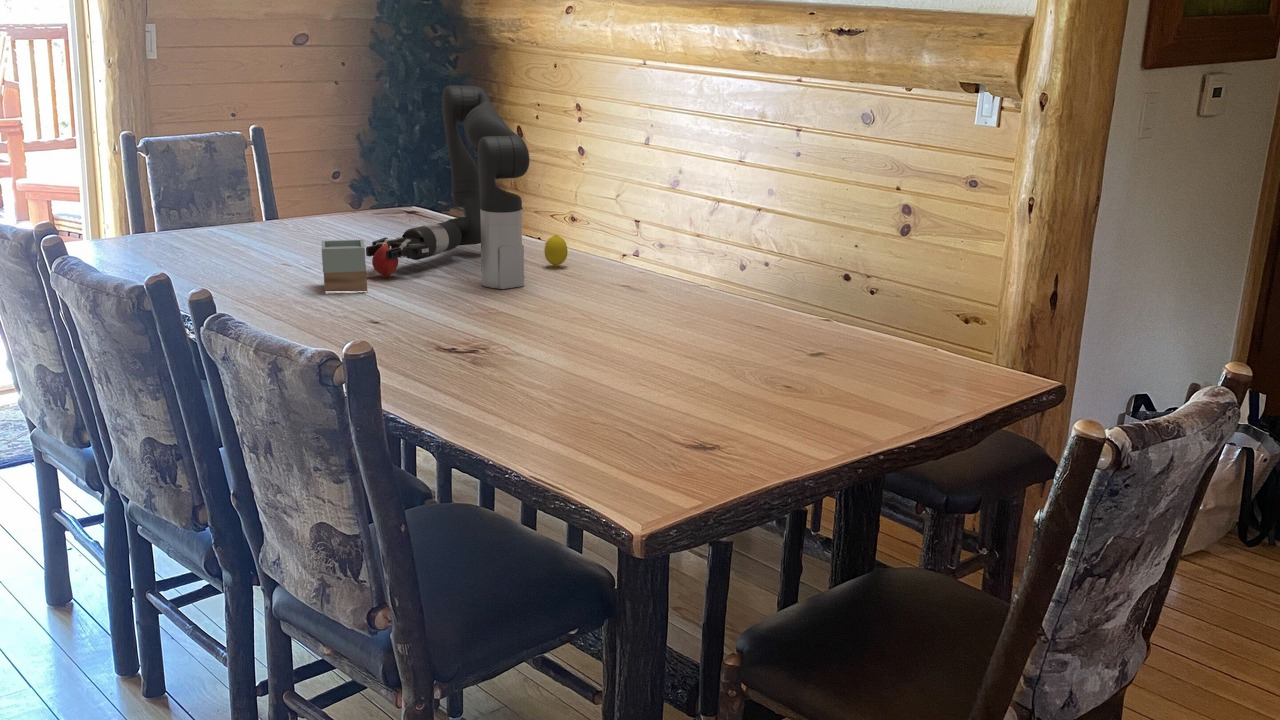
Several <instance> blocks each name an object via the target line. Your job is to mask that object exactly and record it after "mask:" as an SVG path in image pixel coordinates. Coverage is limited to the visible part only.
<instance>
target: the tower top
mask: <svg viewBox="0 0 1280 720" xmlns="http://www.w3.org/2000/svg"><path fill="white" fill-rule="evenodd" d="M364 241H365V240H364V239H341V240H338V239H337V240H335V239H334V240H321V261H322V263H321V265H322V273H323V274H324V273H334V272H362V271H366V272H367V265H366V264H365V262H366V247H365V243H364Z"/></svg>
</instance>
